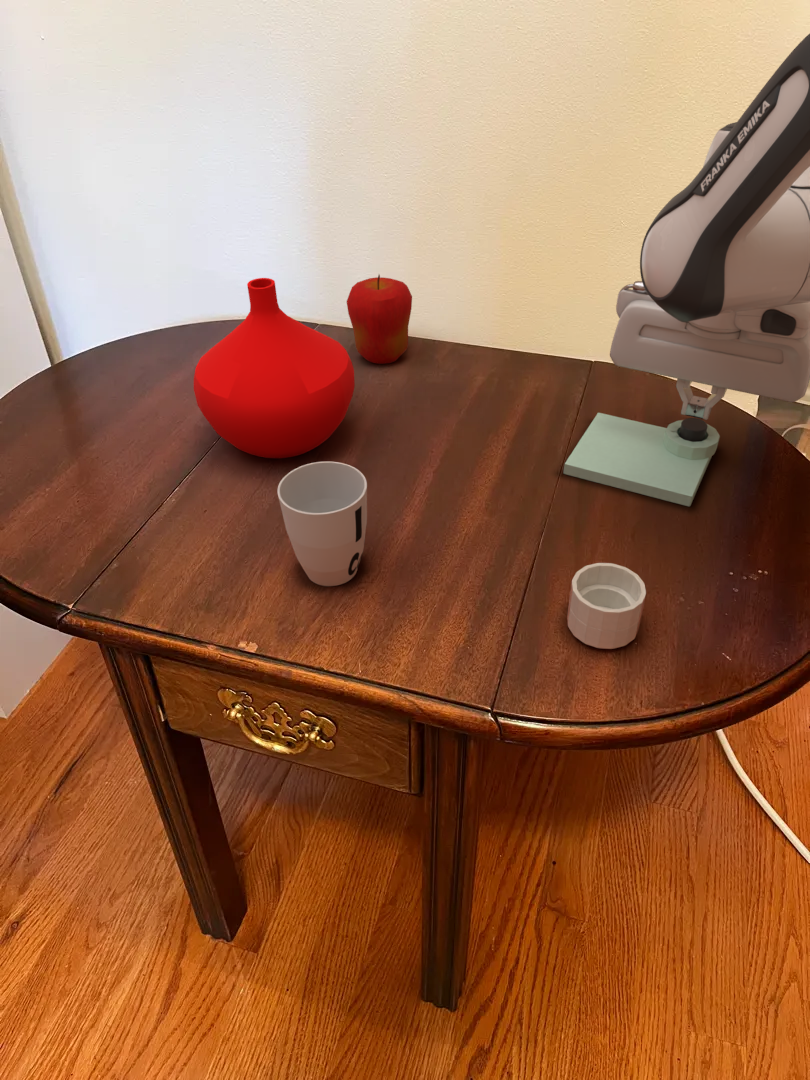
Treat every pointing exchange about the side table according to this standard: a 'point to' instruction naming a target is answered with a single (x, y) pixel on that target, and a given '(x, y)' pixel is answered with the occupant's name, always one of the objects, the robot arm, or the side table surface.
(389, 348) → the apple
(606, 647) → the bowl
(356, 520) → the cup
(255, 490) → the side table surface
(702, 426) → the tare button
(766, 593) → the side table surface
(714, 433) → the scale
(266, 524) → the side table surface
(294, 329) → the vase
